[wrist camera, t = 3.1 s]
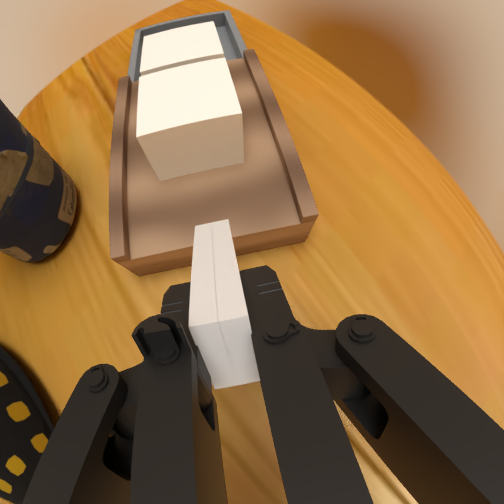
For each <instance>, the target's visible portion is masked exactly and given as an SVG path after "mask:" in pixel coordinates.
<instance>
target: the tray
mask: <svg viewBox="0 0 504 504" xmlns="http://www.w3.org/2000/svg"><path fill="white" fill-rule="evenodd" d="M211 21H214V24H215V27H216V30H217V33H218V37H219V40H220V43H221V46H222V49H223V52H224V58H225V59H226V60H233V59H240V58H243V50H247V48H246V46H245V43H244V41H243V39H242V37H241V34H240V32H239V30H238V28H237V26H236V24H235V22H234V19H233V17H232V15H231V13H230V11H229V10H226V11H219V12H212V13H206V14H200V15H194V16H189V17H184V18H179V19H175V20H171V21H166V22H162V23H158V24H155V25H151V26H147V27H144V28H141V29H137V30H135V35H134V40H133V46H132V51H131V57H130V64H129V70H128V75H129V76H130V79H131V81H132V82H135V81H138V80H139V77H140V76H141V74H140V65H141V56H142V47H143V39H144V36H148V35H151V34H155V33H159V32H163V31H167V30H171V29H175V28H180V27H184V26H189V25H194V24H200V23H205V22H211Z"/></svg>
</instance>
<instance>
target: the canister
mask: <svg viewBox="0 0 504 504" xmlns="http://www.w3.org/2000/svg"><path fill="white" fill-rule="evenodd" d="M76 205H77V193H76V189H75V186H74V183H73V181H72V179H71V178H70V177H69V175H68V174H67V173H66V172H65V171H64V170H63V169H62V168H61V167H60V166H59V165H58V164H57V163H56V162H55V160H54V159H53V158H52V157H51V156H50V155H49V154H48V153H47V151H46V150H45V149H44V148H43V147H42V146H41V145H40V143H39V141H38V140H37V139H36V138H35V137H33V136H32V135H31V134H30V133H29V132H28V131H27V129H26V128H25V127H24V126H23V125H22V124H21V123H20V122H19V120H17V119H16V117H15V116H14V115H13V114H12V113H11V112H10V111H9V109H8V108H7V107H6V106H5V105H4V103H3V102H2V101H1V100H0V251H1V252H3V253H5V254H7V255H9V256H12V257H14V258H16V259H18V260H21V261H24V262H36V261H40V260H42V259H44V258H46V257H47V256H49V255H50V254H52V253H53V252H54V251H55V250H56V249H57V248H58V247H59V246H60V244H61V243H62V242H63V240H64V239H65V237H66V235H67V234H68V232H69V230H70V227H71V225H72V223H73V220H74V216H75V212H76Z"/></svg>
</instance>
